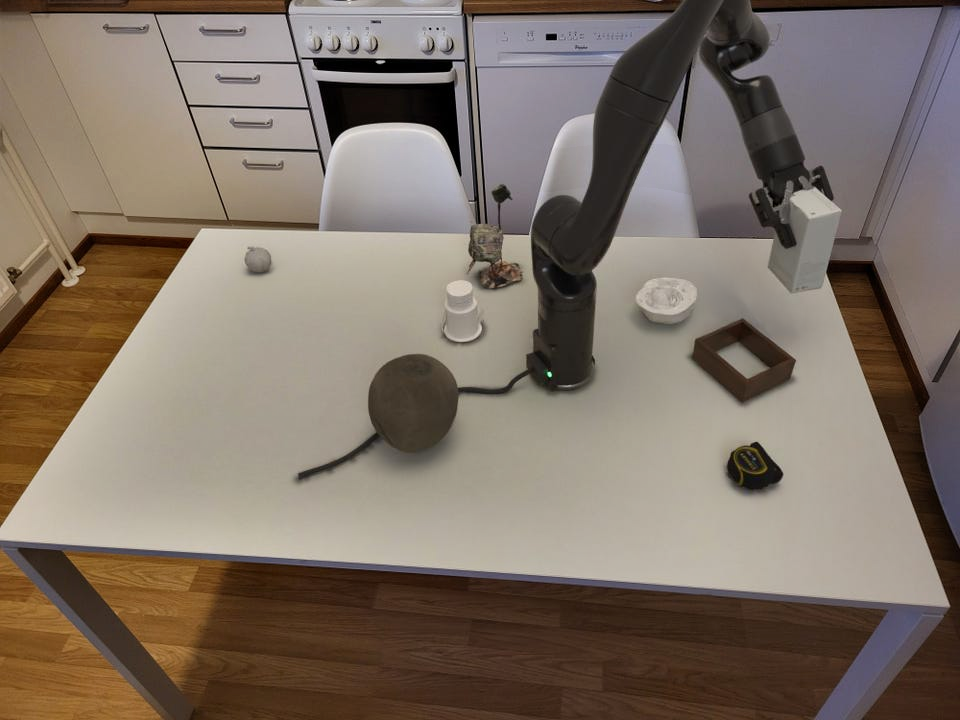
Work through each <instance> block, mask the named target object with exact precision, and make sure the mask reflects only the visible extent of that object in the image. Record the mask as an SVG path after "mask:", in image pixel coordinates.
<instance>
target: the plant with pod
mask: <svg viewBox="0 0 960 720" xmlns="http://www.w3.org/2000/svg"><path fill="white" fill-rule="evenodd" d="M490 193H491V196H492V198H493V200H494V202H495V203H497V224H498V225H497V224H491V223H476V224H473V225H471V226H470V230H469V243H468V247H467V252H468V255H469V256H470V257H471V259H472V261H471V262H470V264H469V265H468V268H467V270H466V273H465V275H469V273H470V272H471V270H472V269H473V267H474V265H475V264H476V262H478V263H479V262H480V263H489V264H490V265H488V266H487V267H484V268H483V267H482V269H480V270H478V277H479V280H480V283H481V284H482V287H484V288H486V289H494V288H500V287H505V286H506V285H508V284H509V283H513V282H514V281H522V279H523V278H524V277H523V276H524V275H523V272H524V271H522V270H521V267H520V264H519V263H518V262H512V263H508V262H507V261H506V260H505V261H503V255H502V254H503V253H502V250H503V245H504V244H503V242H504V239H505V237H504V231H503V229H502V226H501V206H502V205H501V204H503V203H504V202H505V201H506V200H510V201H513V198H512V196H511V191H510V189H509V188H508V187H507V185H506V184H505V183H500V184H498V185H496V186H495V187H494V188H493V189H492V190H491V192H490ZM472 223H473V221H470V224H472Z"/></svg>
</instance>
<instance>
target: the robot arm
mask: <svg viewBox="0 0 960 720" xmlns="http://www.w3.org/2000/svg"><path fill="white" fill-rule="evenodd" d="M770 38H771V37H770V33H769V30H768V29H767V26H766V25H765V23H764V22H763V20H762V19H761V18H760V17H759V16H758V15H757V14H756V13H755V12H754V11H753V10H752V3H751V0H682V2H681V3H680V4H679V5H678V7H677V8H676V9H675V10H674V11H673V12H672V13H671V15H669V16H668V17H667V18H666V19H665V20H664V21H663V22H661V23H660V24H659V25H658V26H656V27H655V28H654V29H652V30H651V31H650V32H648V33H647V34H646V35H644V36H643V37H641V38H640V39H638V40H637V41H636V42H635V43H634V44H632V45H631V46H630V47H629V48H628V49H627V50H625V52H623V53H622V54H621V55H620V56H619V58H618V59H617V60H616V61H615V63H614V65H613V67H612V68H611V71H610V74H609V76H608V78H607V81H606V82H605V85H604V87H603V90H602V92H601V94H600V97H599V99H598V101H597V104H596V106H595V107H596V108H595V111H594V116H593V124H592V162H591V171H590V177H589V182H588V185H587V188H586V191H585V193H584V195H583V196H584V197H583V199H582V201H581V200H580V199H577V198H576V197H574V196H572V195H569V194H558V195H555V196H551V197H550V198H548V199H547V200H545V202H543V203H542V205H541V206H540V207H539V208H538V210H537V211H536V213H535V215H534V217H533V220H532V224H531V229H530V251H531V252H530V254H531V269H532V277H533V279H534V283H535V285H536V286H537V328H535V329H533V330H532V352H529V353H526V354H525V358H526V359H525V360H526V363H525V364H526V365H525V367H526V370H524V371H522V372H521V373H518V374H517V375H516V376H514V377H513V378H512V379H511V380H510V381H509V383H508V384H507V385H506V386H503V387H501V388H495V389H493V388H491V389H490V388H482V387H476V386H475V387H473V386H462V387H461V386H460V387H458V394H459V393H476V394H477V393H478V394H484V395H485V394H486V395H499V394H503V393H507V392H509V391H510V390H511V389H512V388H513V387H514V385H515V384H516V383H517V382H519V381H520V380H522V379H524V378H525V377H527V376H529V375H531V376H532V378H533V379H534V381H535V383H536V384H537V385H538V386H539V385H543V384H544V385H545V386H546V387H547V388H548V389H549V391H550V392H555V391H572V390H577V389H579V388H581V387H584V385H586V384H587V383H588V382H589V381H590V379H591V378H592V374H593V366H594V367H595V366H596V359H595V357H594V355H593V354H594V353H593V352H594V335H595V334H594V333H595V318H596V304H597V291H598V290H597V289H598V284H597V278H596V275H595V273H594V270H595V269H596V268H597V267H598V266H599V265H600V263H601V262H602V261H603V259H604V258H605V256H606V255H607V253H608V251H609V249H610V247H611V244H612V242H613V240H614V238H615V236H616V232H617V230H618V228H619V224H620V222H621V219H622V216H623V213H624V210H625V208H626V205H627V203H628V200H629V198H630V196H631V195H630V194H631V192H632V190H633V187H634V185H635V182H636V181H637V178H638V176H639V174H640V172H641V169H642V167H643V166H644V165H643V164H644V162H645V160H646V158H647V156H648V154H649V152H650V149H651V148H652V145H653V143H654V142H655V139H656V137H657V136H658V134H659V132H660V130H661V128H662V126H663V124H664V122H665V120H666V119H667V116H668V114H669V112H670V110H671V108H672V105H674V101H675V100H676V97H677V95H678V92H679V90H680V88H681V86H682V83H683V81H684V79H685V77H686V74H687V72H688V71H689V68H690V66H691V63H692V62H693V59H694V58H695V55H696V53H697V51H698V57H699V60H700V62H701V65H702V66H703V67H704V69H705V70H706V71H707V73H708V74H709V75H710V76H711V77H712V79H713V80H714V81H715V82H716V84H717V85H718V86H719V87H720V89H721V90H722V92H723V93H724V95H725V97H726V99H727V100H728V102H729V104H730V108H731V109H732V111H733V114H734V117H735V119H736V121H737V124H738V127H739V130H740V133H741V137H742V142H743V145H744V147H745V149H746V152H747V154H748V157H749V161H750V162H751V165H752V167H753V170H754V173H755V175H756V178H757V179H758V180H761V182H762V187H760V188H758V189H755V190H754V191H751V192H749V194H748V198H749V201H750V203H751V205H752V208H753V210H754V212H755V215H756V217H757V219H758V222H759V224H760V226H761V227H762V228H773V229H774V232H775V231H776V233H777V236H778V238H779V240H780V244H781V245H782V246H784V248H785V249H788V248H791V247H794V246H796V244H797V243H796V240H795V237H794V235H793V232H792V230H791V227H790V224H789V223H788V224H786V223H787V218H788V211H789V209H790V207H791V205H790V198H791V195H792V194H793V193H795V192H797V191H800V190H802V189H804V190H807V191H808V190H811V189H814V187H815V188H817V189H818V190H819V191H820V192H821V193H822V194H823V195H825V196H826V197H827V198H828V199H829V200H830V201H831V202H833V201H834V199H835V196H834V193H833V190H832V188H831V184H830V181H829V179H828V176H827V172H826V171H825V168H824V166H823V165H818V166H816V167H813V168H812V169H809V170H808V169H807V168H806V167H805V165H804V162H805V160H806V156H805V153H804V151H803V148H802V146H801V143H800V142H799V138H798V136H797V134H796V131H795V127H794V126H793V123H792V121H791V119H790V116H789V115H788V113H787V111H786V109H785V107H784V105H783V102H782V99H781V97H780V94H779V92H778V89H777V86H776V84H775V81H774V79H773V78H772V77H771V76H770V75H768V74H761V75H756V76H753V77H748V78H739V77H737V76H735V75H734V74H733V72H736V71H738V70H741V69H742V68H744V67H746V66H748V65H750V64H752V63H755V62H757V61H759V60H760V59H762V58H763V57H764V56H765V55H766V54H767V52H768V50H769V47H770V46H771V45H770V44H771V39H770ZM769 198H770V200H769ZM379 437H380V436H379V434H378V433H377V432H376V431H375V433H373V434H372V435H371V436H369V438H367V439H366V440H365V441H363V442H362V443H361V444H360V445H359V446H357V447H356V448H354V449H353V450H351V451H350V452H348V453H347V454H345V455H344V456H341V457H340V458H338V459H335V460H333V461H330V462H328V463H325V464H323V465H318V466H316V467H313V468H310V469H309V468H308V469H306V470H304V471H300V472H298V473H297V476H298V479H302V478H305V477H307V476H310V475H313V474H314V475H315V474H317V473H320V472H323V471H326V470H329V469H332V468H334V467H337V466H339V465H341V464H342V463H345V462H346V461H348V460H350V459H352V458H353V457H355V456H356V455H358V454H360V452H361V451H363V450H364V449H366V448H367V447H368V446H369V445H371V444H372V443H373V442H374V441H375V440H376V439H378V438H379Z"/></svg>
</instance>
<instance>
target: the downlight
mask: <svg viewBox="0 0 960 720" xmlns="http://www.w3.org/2000/svg"><path fill="white" fill-rule="evenodd" d="M473 290H474V289H473V284H472V283H470V282H469V281H467V280H465V279H464V280H462V279H458V280H453V281H451V282H450V283H448V284H447V286H446V299H445V301H444V309H443V314H442V317H441V321H440V329H441V331H442V332H443V333H444V335H445V337H446V338H448V339H449V340H450V341H452V342H455V343H456V342H457V343H466V342H467V343H468V342H471V341H474V340H475V339H477V338H478V337H480V335H481V333H482V331H483V326H482V324H481V321H482V318H483V315H484V307H483V305H482V304H480V314H479V313H478V300H477V298H476V297H475V296H474V291H473ZM478 315H479V316H478ZM445 320H446V322H445ZM444 322H445V323H446V324H445V325H444ZM443 326H444V328H443Z"/></svg>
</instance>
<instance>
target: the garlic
mask: <svg viewBox="0 0 960 720" xmlns="http://www.w3.org/2000/svg"><path fill="white" fill-rule="evenodd" d="M246 249H247V250H248V251H246V253H245V256H244V264H245V266H246V267H247V268H248V269H249V270H250V271H252V272H253V273H262V272H266V271H268V270H269V269H270V267H271V265H272V255H271V253H270V252H269V250H268V249H265V248H264V247H260V246H259V247H258V246H256V247H255V246H247V247H246Z"/></svg>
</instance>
